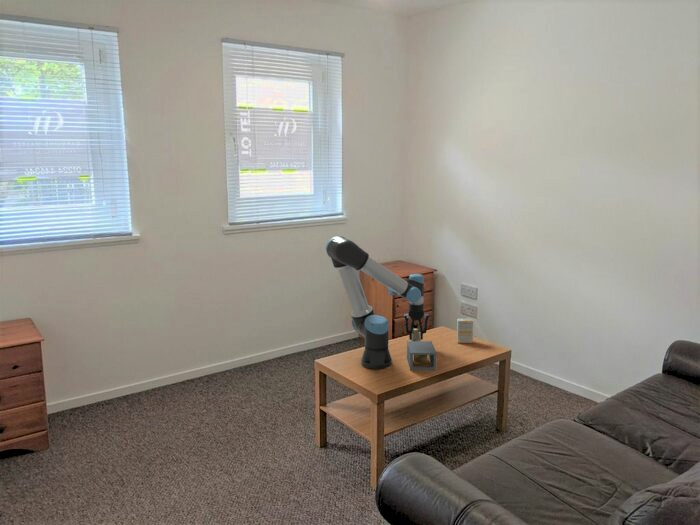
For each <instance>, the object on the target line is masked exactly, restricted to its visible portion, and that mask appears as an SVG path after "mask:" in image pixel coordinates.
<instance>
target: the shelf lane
mask: <svg viewBox="0 0 700 525" xmlns="http://www.w3.org/2000/svg"><path fill="white" fill-rule="evenodd" d="M414 355H427V356H428V360H429V362H430V366H414ZM406 360H407V363H408V368H409V370H410V371H411V372H413V371H437V351H436V347H435V345H434V344H433V342H432V341H431V340H430V341H429V340H425V341H423V340H421V341H411V340H407V341H406Z"/></svg>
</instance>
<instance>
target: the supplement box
mask: <svg viewBox="0 0 700 525" xmlns="http://www.w3.org/2000/svg"><path fill="white" fill-rule="evenodd" d="M456 323H457V324H456V342H457V344H473V343H474V342H473V341H474V340H473V339H474V338H473V335H474V320H473V318H467V317H466V318H461V317H460V318H459V317H458V318H457V321H456Z"/></svg>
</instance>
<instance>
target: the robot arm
mask: <svg viewBox="0 0 700 525" xmlns="http://www.w3.org/2000/svg"><path fill="white" fill-rule="evenodd" d="M325 252H326V254H327V256H328V257H329V258H330V259H331V262H332V265H333V267H334V268H335V269H337V270H338V273H339V276H340V280H341V282H342V285H343V286H344V287H343V288H344V289H345V290H344V291H345V294H346V295H347V299H348V301H349V304H350V306H351V310H352V311H351V312H350V316H351V325H352V327H353V329H354V330H355V332H357V333H358V334H360V335H361V336H362V337H363V338H364V350H363V353H362V356H361V358H360V359H361V365H362V367H365V369H370V370H383V369H388V368H389V367H392V364H393V359H392V356H391V352H390V350H389V328H390V326H389V320H388V319H387V318H386V317H385V316H382V315H381V316H380V315H378V314H375V311H374V309H373V308H374V307H373V306H372V305H369V303H368V300H367V296H366V294H365V291H364V288H363V285H362V282H361V279H360V276H359V273H358V271H362V273H364V274H366V275H367V276H369V277H371V278H372V279H374V281H377V282H378V283H379V284H382V285H383V286H385V287H387V292H388V294H389V295H390V296H399V297H401V298H403V299H405V300H406V301H408V302H409V304H408V307H409V308H408V310H409V311H408V313H406V314H403V317H404V320H405V321H404V322H405V324H404V325H405V333H406V334H408V335H409V336H408V337H409V339H408V340H409V341H413V329H414V324H415V321H417V322H418V326H419V327H418V329H419V341H423V340H424V339H423V338H424V334H427V328H428V319H429V317H430V315H429V314H428V313H425V312H424V306H425V305H424V299H425V298H424V294H425V293H424V292H425V291H424V290H425V279H424V278H425V277H424V275H422V274H420V273H412V274H409V278H407V279H403V278H402V277H401V276H399V275H397V274H396V273H394V272H393V271H391V270H390V269H388V268H387V267H385V266H384V265H382V264H380V263H379V262H377V261H376V260H375V259H373V258H371V257H370V255H369V253H368V252H366V251H365V250H364V249H362V248H361V247H360V246H359V245H358V244H356V243H355V242H354V241H353V240H351V239H347V238H345V237H344V236H339V235H338V236H333V237H331V238H330V239H329V240H328V241H327V243H326V246H325ZM409 318H410V326H409V320H408V319H409ZM423 318H424V319H423ZM422 319H423V321H424V322H423V323H424V324H423V326H422Z"/></svg>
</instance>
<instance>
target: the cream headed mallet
mask: <svg viewBox="0 0 700 525" xmlns="http://www.w3.org/2000/svg"><path fill="white" fill-rule="evenodd" d="M412 333H413V341H419V333H420V328H413V331H412ZM413 363H414V365H428V355H413Z"/></svg>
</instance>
